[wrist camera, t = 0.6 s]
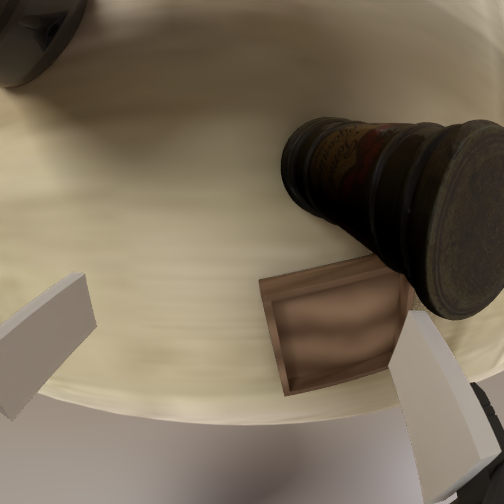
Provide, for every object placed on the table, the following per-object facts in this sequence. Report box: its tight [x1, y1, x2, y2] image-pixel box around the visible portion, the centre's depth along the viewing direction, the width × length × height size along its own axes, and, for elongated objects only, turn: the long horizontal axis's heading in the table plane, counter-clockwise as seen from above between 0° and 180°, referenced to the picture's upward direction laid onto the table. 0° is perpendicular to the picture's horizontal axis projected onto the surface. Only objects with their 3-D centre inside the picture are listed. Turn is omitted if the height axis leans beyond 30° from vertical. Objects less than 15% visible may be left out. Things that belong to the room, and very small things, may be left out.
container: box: [281, 117, 504, 320], centre depth 16 cm, size 9×9×18 cm
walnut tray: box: [259, 254, 415, 396], centre depth 31 cm, size 17×17×3 cm
